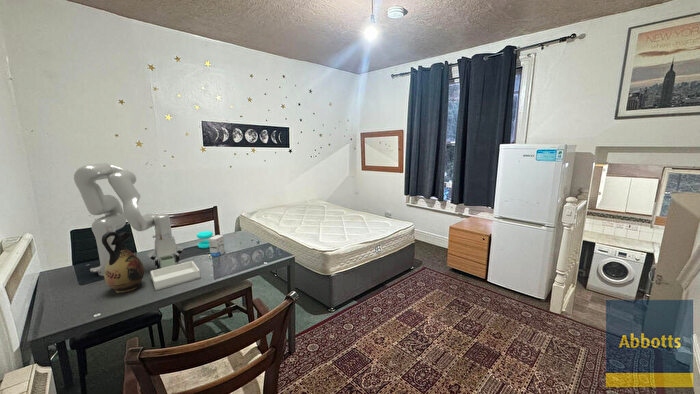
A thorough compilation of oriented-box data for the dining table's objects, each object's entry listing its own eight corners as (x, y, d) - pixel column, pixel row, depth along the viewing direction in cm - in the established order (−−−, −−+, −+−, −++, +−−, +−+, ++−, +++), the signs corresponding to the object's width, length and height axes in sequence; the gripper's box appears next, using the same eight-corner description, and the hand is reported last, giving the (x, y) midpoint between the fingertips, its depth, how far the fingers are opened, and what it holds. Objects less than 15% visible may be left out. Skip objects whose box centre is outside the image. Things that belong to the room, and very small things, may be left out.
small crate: (162, 271, 157) (160, 261, 156) (160, 267, 162) (159, 257, 161) (175, 268, 161) (174, 258, 160) (173, 264, 166) (172, 254, 165)
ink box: (216, 256, 177) (215, 239, 175) (209, 256, 178) (208, 238, 176) (225, 251, 185) (223, 235, 183) (218, 251, 186) (217, 234, 184)
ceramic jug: (133, 278, 149) (125, 224, 143) (153, 283, 143) (145, 227, 137) (95, 294, 133) (84, 234, 127) (115, 301, 128) (105, 238, 122)
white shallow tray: (155, 290, 136) (154, 282, 136) (151, 278, 148) (150, 271, 147) (200, 278, 149) (199, 270, 149) (193, 268, 161) (192, 260, 160)
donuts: (193, 235, 188) (200, 230, 198) (195, 249, 190) (201, 244, 200) (208, 234, 189) (215, 230, 199) (210, 248, 191) (216, 243, 201)
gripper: (146, 241, 150) (150, 270, 153) (182, 234, 161) (186, 262, 164) (144, 237, 155) (148, 266, 158) (180, 231, 166) (183, 258, 169)
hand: (167, 264), depth 161 cm, fingers open, 9 cm apart
